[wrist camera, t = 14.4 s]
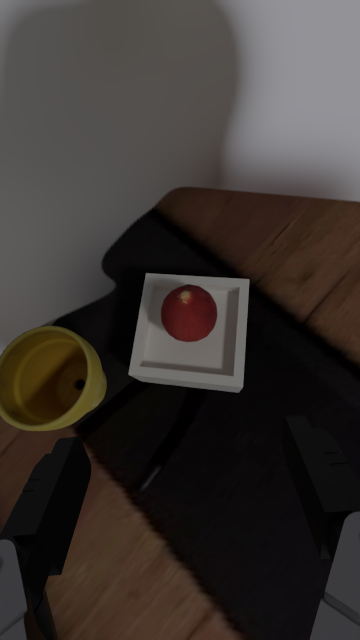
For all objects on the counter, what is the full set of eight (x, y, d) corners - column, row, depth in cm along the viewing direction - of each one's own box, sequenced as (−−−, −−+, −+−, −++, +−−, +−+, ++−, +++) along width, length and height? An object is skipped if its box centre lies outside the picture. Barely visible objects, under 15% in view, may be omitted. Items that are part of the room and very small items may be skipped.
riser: (244, 300, 40) (249, 279, 34) (238, 392, 36) (243, 387, 30) (156, 294, 42) (146, 273, 36) (142, 381, 38) (128, 374, 32)
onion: (175, 302, 36) (164, 260, 29) (222, 312, 35) (223, 271, 28) (160, 345, 34) (144, 312, 27) (210, 358, 32) (207, 326, 25)
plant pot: (78, 332, 41) (38, 306, 32) (137, 374, 38) (112, 360, 29) (27, 396, 39) (-32, 389, 30) (86, 446, 36) (41, 456, 27)
